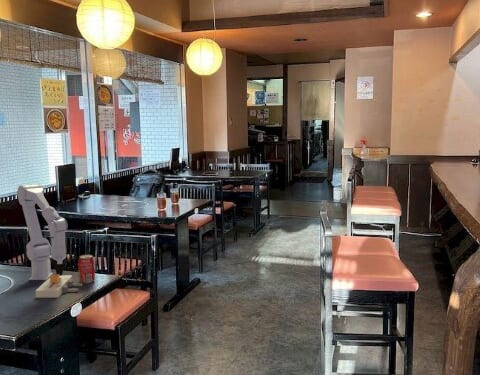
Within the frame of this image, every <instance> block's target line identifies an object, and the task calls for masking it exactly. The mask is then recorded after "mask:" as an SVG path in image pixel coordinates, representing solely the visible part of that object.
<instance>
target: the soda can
mask: <svg viewBox="0 0 480 375" xmlns="http://www.w3.org/2000/svg"><path fill="white" fill-rule="evenodd" d="M77 265H78V269H77V270H78V281H79V283H83V284H91V283H92V282H94V281H95V278H96V271H95V270H96V269H95V268H96V266H95V258H94V256H93V255H92V254H82V255H80V256H79V259H78V264H77Z"/></svg>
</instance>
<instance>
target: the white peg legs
mask: <svg viewBox="0 0 480 375" xmlns="http://www.w3.org/2000/svg"><path fill="white" fill-rule="evenodd" d="M83 285H84V283H81V282H79V283H78V282H77V283H74V282H73V280H72V281H68V286H63V293H62V294H64V293H66V294H67V293H78V292H79V288H73V287H83Z"/></svg>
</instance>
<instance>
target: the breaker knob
mask: <svg viewBox="0 0 480 375" xmlns="http://www.w3.org/2000/svg"><path fill="white" fill-rule="evenodd" d="M49 278H50V283H58V282H59V281H60V280H59V274H56V273H53V274H51V275H50V277H49Z"/></svg>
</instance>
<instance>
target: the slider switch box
mask: <svg viewBox="0 0 480 375" xmlns="http://www.w3.org/2000/svg"><path fill="white" fill-rule="evenodd" d="M59 280H60V281H59V282H58V283H50V277H49V278H48V279H47V280H45V282H43V283H42V284H41V285H39V287H38V288H37V289H36V290H35V298H38V299H39V298H59V297H60V296H61V295H62V294H64V293H63V286H68V281H73V275H71V274H70V275H68V274H67V275H66V274H65V275H63V274H62V276H59Z"/></svg>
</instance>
